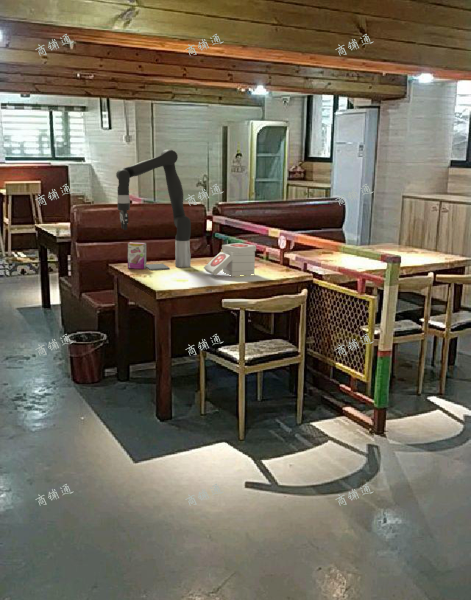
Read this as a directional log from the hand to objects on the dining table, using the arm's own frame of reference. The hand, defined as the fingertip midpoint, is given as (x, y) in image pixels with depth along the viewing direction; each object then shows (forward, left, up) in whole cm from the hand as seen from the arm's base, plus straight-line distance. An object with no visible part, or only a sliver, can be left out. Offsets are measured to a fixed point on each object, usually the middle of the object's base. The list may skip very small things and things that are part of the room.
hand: (124, 229), depth 391 cm
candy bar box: (-8, 0, -26) cm, 27 cm away
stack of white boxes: (-58, +35, -26) cm, 73 cm away
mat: (-20, 0, -25) cm, 33 cm away
